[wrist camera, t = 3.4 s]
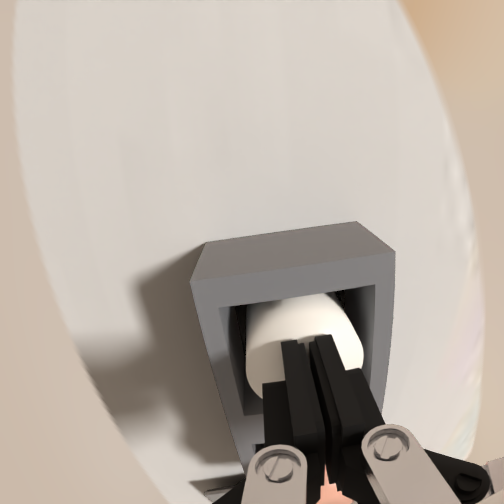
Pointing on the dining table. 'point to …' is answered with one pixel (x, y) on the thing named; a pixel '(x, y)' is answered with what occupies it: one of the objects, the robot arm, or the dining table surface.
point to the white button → (295, 334)
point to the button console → (289, 286)
